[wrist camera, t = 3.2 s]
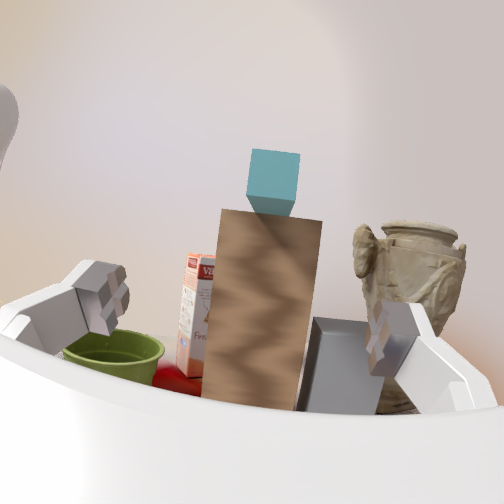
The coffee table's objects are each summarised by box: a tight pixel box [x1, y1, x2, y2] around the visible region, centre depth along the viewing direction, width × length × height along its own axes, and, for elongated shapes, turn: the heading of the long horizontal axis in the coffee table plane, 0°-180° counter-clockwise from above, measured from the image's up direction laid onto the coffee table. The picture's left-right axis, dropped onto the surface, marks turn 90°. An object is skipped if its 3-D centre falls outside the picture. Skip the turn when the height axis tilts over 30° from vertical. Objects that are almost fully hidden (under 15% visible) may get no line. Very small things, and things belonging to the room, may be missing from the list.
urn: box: [353, 220, 466, 414], centre depth 48 cm, size 24×18×30 cm
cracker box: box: [176, 253, 216, 378], centre depth 56 cm, size 14×6×21 cm, turn 124°
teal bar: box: [246, 149, 300, 217], centre depth 32 cm, size 3×26×3 cm, turn 176°
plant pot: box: [62, 329, 165, 386], centre depth 31 cm, size 12×12×11 cm
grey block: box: [296, 317, 385, 415], centre depth 32 cm, size 7×8×16 cm
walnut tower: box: [201, 209, 322, 411], centre depth 34 cm, size 9×12×26 cm
